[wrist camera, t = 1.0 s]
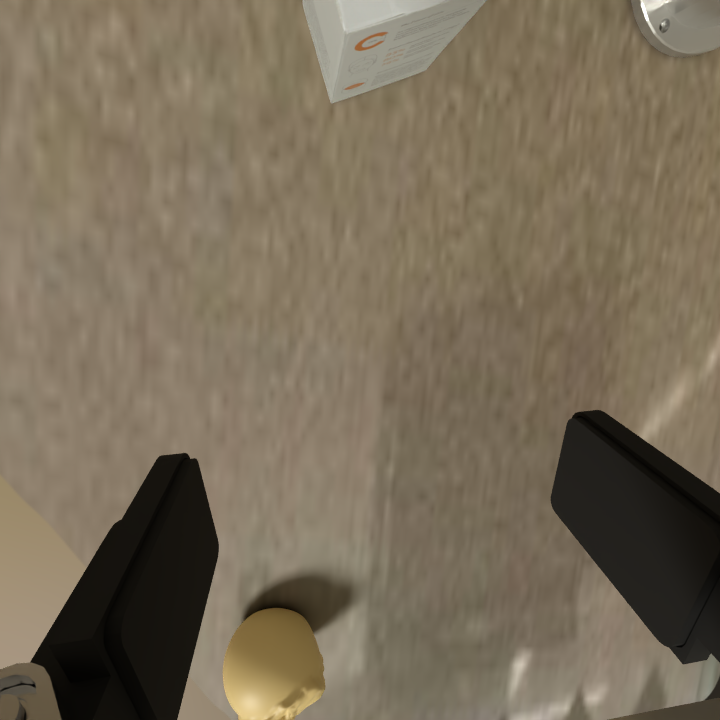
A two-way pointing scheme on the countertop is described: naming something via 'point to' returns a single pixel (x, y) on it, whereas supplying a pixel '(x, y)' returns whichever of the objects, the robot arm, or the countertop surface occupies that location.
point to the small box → (381, 39)
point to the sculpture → (273, 666)
